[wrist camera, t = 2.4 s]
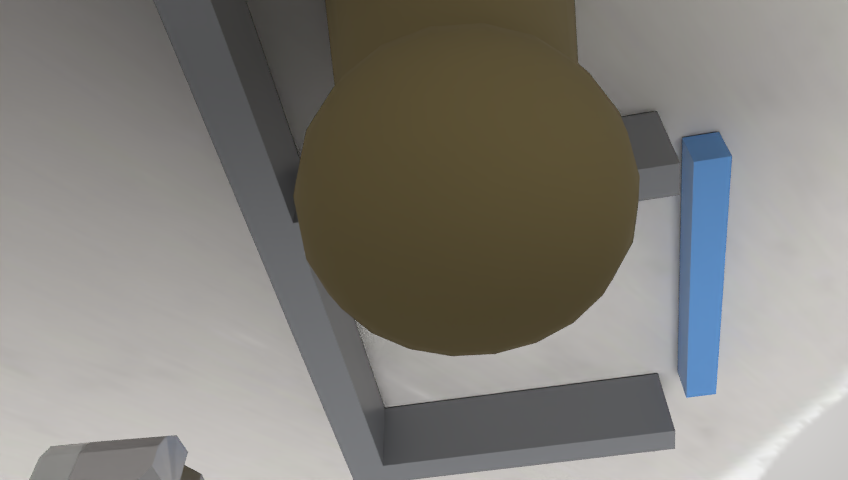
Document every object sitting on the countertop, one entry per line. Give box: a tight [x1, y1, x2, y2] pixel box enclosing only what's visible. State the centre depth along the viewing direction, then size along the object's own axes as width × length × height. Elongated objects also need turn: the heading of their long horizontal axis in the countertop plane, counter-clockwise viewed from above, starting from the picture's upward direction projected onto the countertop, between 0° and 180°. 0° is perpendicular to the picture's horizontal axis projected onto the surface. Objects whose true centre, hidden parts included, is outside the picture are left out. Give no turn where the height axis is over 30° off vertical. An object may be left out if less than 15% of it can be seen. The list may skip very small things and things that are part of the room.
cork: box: [293, 0, 640, 356], centre depth 15 cm, size 6×6×11 cm
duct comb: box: [154, 0, 732, 480], centre depth 22 cm, size 13×23×2 cm, turn 11°
